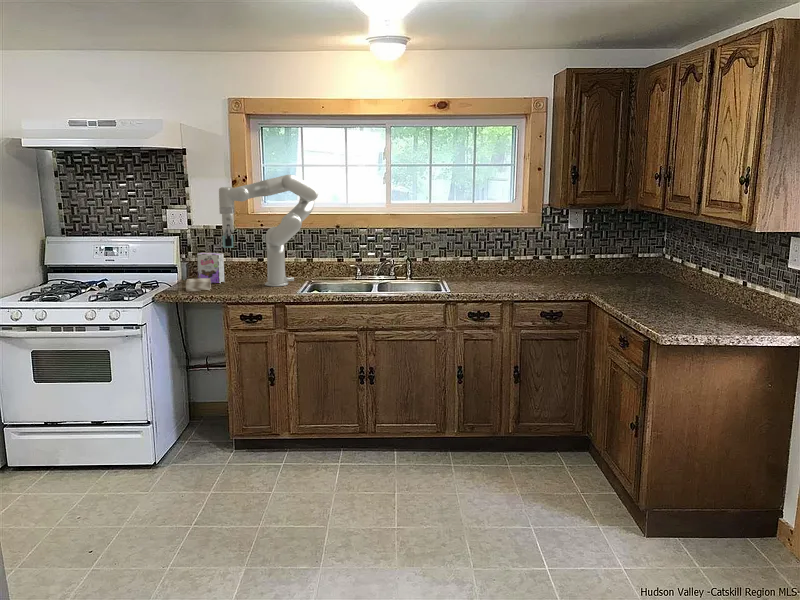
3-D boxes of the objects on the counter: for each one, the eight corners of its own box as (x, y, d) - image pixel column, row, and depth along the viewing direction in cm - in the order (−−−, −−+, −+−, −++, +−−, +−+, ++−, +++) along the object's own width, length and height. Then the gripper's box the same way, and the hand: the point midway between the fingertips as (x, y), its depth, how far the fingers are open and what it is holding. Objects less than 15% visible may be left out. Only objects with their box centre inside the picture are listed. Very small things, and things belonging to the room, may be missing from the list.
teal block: (232, 246, 349) (232, 235, 348) (233, 247, 344) (233, 236, 343) (222, 246, 347) (222, 235, 346) (223, 247, 342) (223, 236, 341)
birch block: (211, 287, 351) (210, 278, 351) (210, 291, 340) (209, 281, 339) (187, 288, 348) (187, 278, 348) (186, 291, 337) (185, 282, 336)
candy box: (197, 282, 365) (196, 253, 361) (203, 281, 370) (202, 252, 367) (219, 283, 361) (218, 254, 358) (225, 282, 366) (223, 253, 363)
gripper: (236, 211, 336) (237, 247, 339) (232, 210, 351) (233, 244, 355) (221, 211, 333) (222, 247, 336) (218, 210, 349) (219, 244, 352)
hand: (228, 245), depth 345 cm, fingers closed on teal block, 5 cm apart
